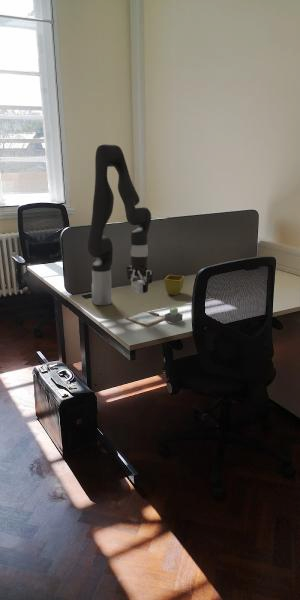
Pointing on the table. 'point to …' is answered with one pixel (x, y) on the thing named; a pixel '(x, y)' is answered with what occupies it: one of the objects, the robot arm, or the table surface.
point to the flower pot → (174, 284)
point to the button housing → (173, 318)
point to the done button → (173, 312)
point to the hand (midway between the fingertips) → (139, 290)
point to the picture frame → (146, 318)
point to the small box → (137, 287)
